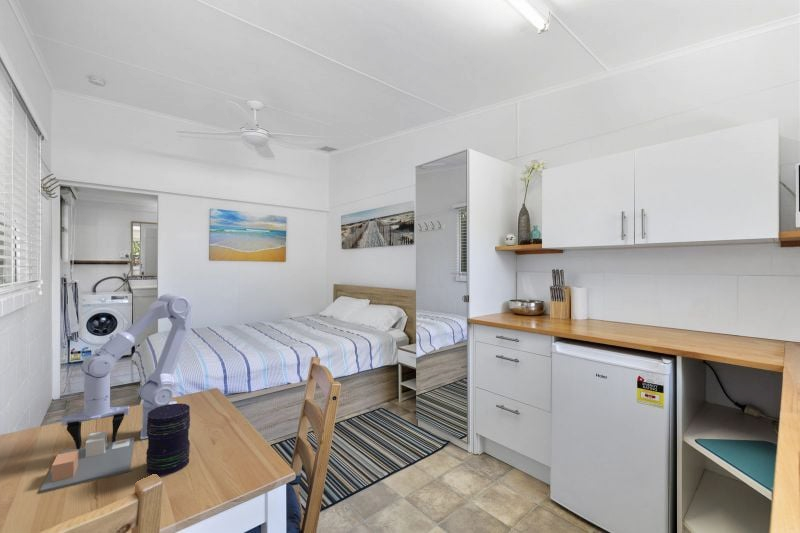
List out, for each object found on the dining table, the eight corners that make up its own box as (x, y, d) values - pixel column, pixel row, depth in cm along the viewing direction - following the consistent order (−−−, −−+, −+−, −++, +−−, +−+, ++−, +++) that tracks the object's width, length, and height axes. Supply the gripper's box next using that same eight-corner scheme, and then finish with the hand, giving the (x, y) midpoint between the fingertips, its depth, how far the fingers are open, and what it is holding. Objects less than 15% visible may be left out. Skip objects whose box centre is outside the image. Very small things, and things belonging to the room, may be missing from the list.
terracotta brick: (78, 465, 95) (78, 450, 95) (73, 476, 90) (73, 461, 90) (57, 469, 93) (57, 454, 93) (51, 482, 88) (51, 465, 88)
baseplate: (134, 439, 111) (134, 436, 111) (129, 471, 94) (129, 468, 94) (59, 454, 102) (59, 451, 102) (39, 493, 85) (39, 490, 85)
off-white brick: (106, 444, 106) (106, 430, 106) (104, 453, 101) (104, 439, 101) (89, 447, 104) (89, 433, 104) (85, 457, 99) (85, 442, 99)
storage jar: (142, 480, 91) (143, 421, 91) (149, 460, 99) (149, 406, 99) (188, 470, 95) (189, 414, 95) (190, 452, 104) (191, 401, 104)
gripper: (59, 406, 95) (58, 457, 96) (127, 396, 103) (127, 443, 104) (65, 398, 101) (64, 446, 101) (129, 389, 109) (129, 433, 109)
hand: (96, 444), depth 103 cm, fingers open, 7 cm apart
